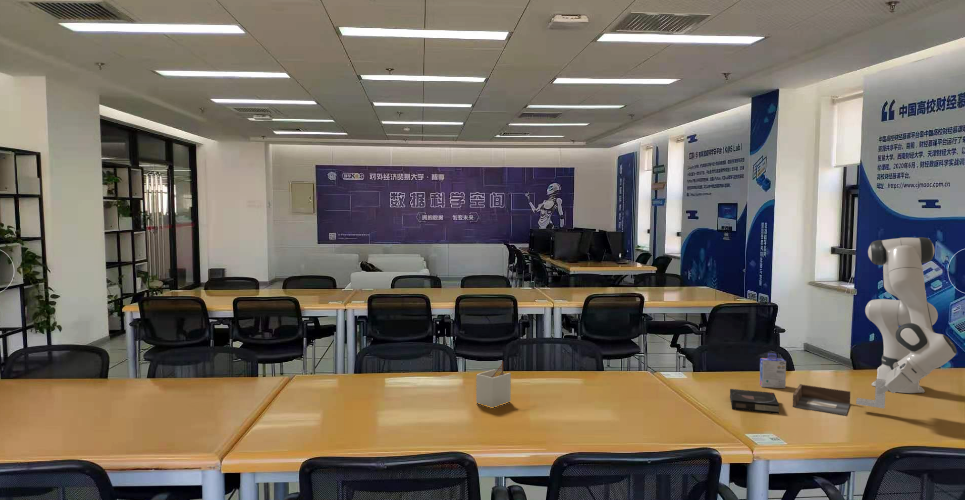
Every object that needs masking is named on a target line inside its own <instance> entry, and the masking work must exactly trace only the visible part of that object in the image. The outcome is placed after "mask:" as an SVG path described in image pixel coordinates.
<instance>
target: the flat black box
mask: <svg viewBox="0 0 965 500" xmlns="http://www.w3.org/2000/svg"><path fill="white" fill-rule="evenodd" d="M729 400H730V406H731V410H735V409H736V411H747V412H755V413H756V412H757V413H763V414H764V413H766V414H776V415H780V404H779V401H778V399H777V396H776V395H775V393H774V392H770V391H769V392H768V391H761V390H760V391H759V390H758V391H756V390H746V389H739V388H738V389H737V388H730V389H729Z"/></svg>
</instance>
